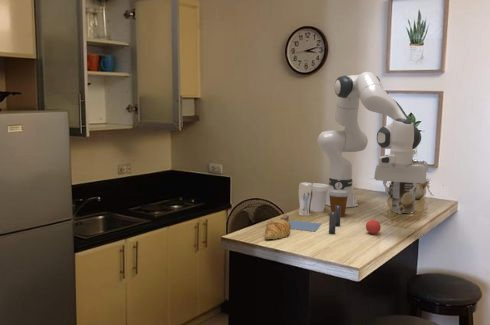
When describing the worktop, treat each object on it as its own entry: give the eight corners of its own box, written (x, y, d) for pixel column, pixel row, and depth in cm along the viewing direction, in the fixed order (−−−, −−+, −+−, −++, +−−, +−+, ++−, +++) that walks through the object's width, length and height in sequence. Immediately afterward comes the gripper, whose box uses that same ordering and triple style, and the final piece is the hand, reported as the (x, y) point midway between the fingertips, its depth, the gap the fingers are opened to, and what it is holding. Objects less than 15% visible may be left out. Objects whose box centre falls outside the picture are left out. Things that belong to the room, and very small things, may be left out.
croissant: (272, 251, 201) (282, 235, 198) (252, 236, 204) (261, 220, 201) (293, 236, 219) (301, 222, 216) (274, 223, 222) (282, 208, 220)
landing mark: (291, 220, 234) (291, 220, 234) (321, 224, 229) (321, 223, 229) (283, 228, 221) (283, 227, 221) (315, 231, 216) (315, 231, 216)
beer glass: (295, 213, 249) (296, 182, 247) (307, 212, 251) (308, 181, 249) (302, 216, 242) (303, 185, 240) (315, 215, 245) (316, 184, 243)
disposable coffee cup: (334, 218, 240) (335, 193, 238) (323, 214, 248) (324, 189, 246) (351, 217, 243) (353, 192, 242) (340, 212, 252) (341, 188, 250)
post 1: (329, 232, 216) (330, 211, 215) (335, 232, 215) (336, 212, 214) (328, 233, 214) (329, 212, 212) (334, 234, 213) (335, 213, 211)
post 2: (334, 224, 228) (335, 205, 227) (340, 225, 227) (341, 205, 226) (333, 226, 226) (334, 206, 225) (339, 226, 225) (340, 206, 224)
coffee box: (398, 214, 250) (400, 182, 248) (391, 211, 256) (393, 180, 254) (414, 213, 253) (416, 181, 251) (406, 210, 259) (408, 179, 257)
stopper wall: (284, 220, 234) (284, 215, 234) (288, 221, 233) (288, 215, 233) (276, 226, 223) (277, 221, 222) (281, 227, 222) (281, 221, 222)
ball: (366, 231, 219) (367, 217, 218) (380, 232, 217) (381, 218, 216) (364, 234, 213) (365, 220, 213) (379, 236, 211) (380, 222, 211)
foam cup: (330, 212, 252) (331, 186, 250) (312, 213, 249) (313, 187, 247) (321, 208, 261) (323, 183, 259) (305, 209, 258) (306, 183, 256)
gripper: (428, 159, 207) (426, 193, 209) (376, 156, 214) (374, 189, 216) (428, 161, 201) (426, 196, 203) (374, 158, 208) (373, 192, 210)
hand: (399, 192), depth 209 cm, fingers open, 8 cm apart
